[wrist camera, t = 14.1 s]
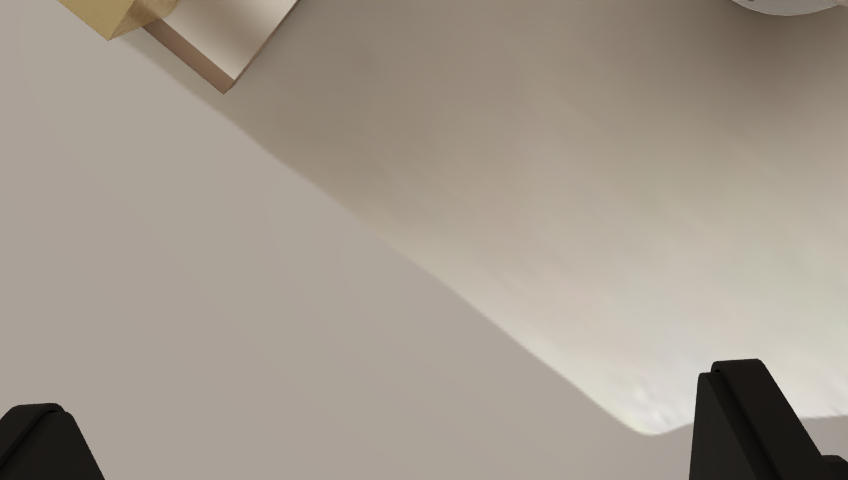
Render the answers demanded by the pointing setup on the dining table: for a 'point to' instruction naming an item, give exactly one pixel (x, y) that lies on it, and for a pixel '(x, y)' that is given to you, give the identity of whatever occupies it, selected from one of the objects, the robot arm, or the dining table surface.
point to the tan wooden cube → (119, 14)
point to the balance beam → (220, 34)
